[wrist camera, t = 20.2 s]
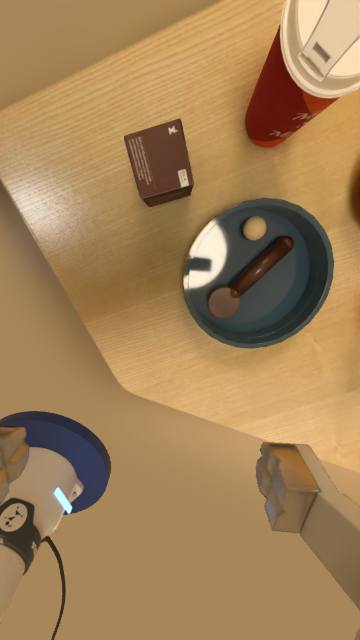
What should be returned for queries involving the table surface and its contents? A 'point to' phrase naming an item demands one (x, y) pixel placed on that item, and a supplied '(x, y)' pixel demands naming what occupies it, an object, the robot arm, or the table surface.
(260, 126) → the coffee cup
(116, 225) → the table surface
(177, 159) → the box
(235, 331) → the bowl
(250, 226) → the ball
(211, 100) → the table surface
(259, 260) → the disc-headed brown rod
